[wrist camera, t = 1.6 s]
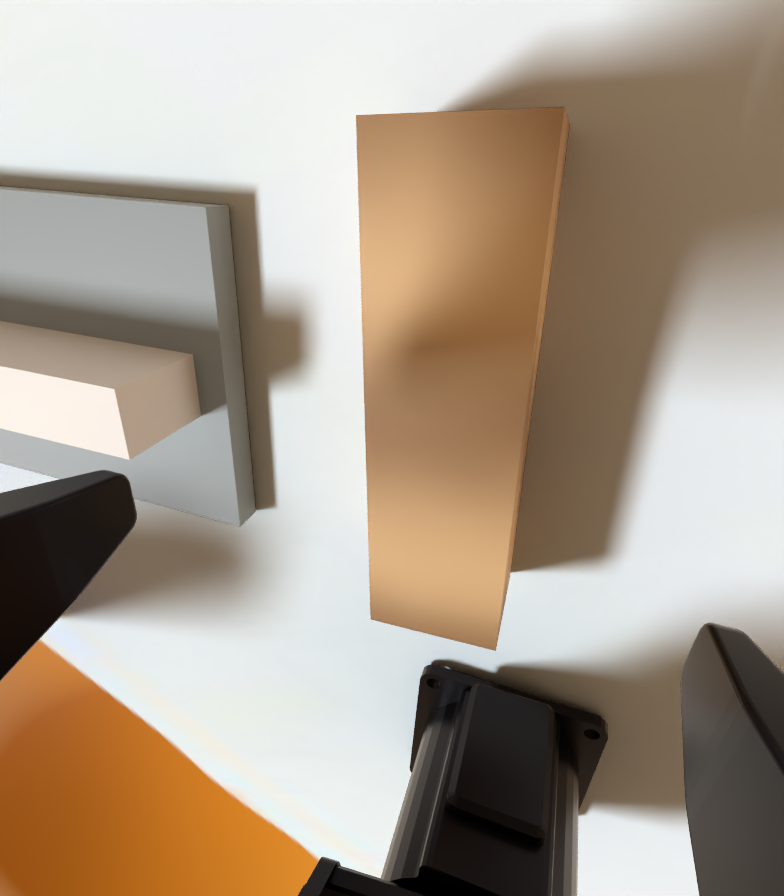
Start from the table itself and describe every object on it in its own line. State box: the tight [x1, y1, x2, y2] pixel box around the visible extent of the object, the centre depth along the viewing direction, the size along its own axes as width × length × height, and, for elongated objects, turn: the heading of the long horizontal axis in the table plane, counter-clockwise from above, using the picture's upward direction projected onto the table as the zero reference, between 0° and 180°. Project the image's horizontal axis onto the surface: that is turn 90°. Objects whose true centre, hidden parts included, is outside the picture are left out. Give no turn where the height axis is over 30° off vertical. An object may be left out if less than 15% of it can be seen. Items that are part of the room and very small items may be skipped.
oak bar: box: [356, 107, 570, 651], centre depth 13 cm, size 12×4×4 cm, turn 0°
